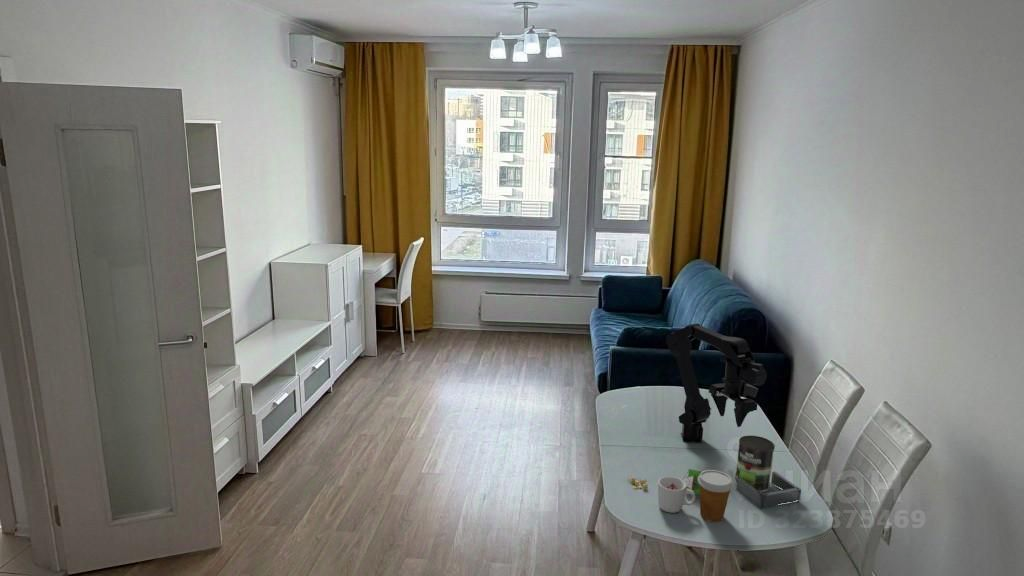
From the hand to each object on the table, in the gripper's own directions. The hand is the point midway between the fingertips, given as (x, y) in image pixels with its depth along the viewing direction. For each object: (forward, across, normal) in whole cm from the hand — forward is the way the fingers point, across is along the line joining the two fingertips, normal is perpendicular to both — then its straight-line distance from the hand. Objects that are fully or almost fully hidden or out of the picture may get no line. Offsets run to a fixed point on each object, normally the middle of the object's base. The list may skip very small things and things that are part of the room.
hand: (730, 421), depth 222 cm
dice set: (+14, -9, +38) cm, 41 cm away
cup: (+14, -24, +34) cm, 44 cm away
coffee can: (+14, -18, +3) cm, 22 cm away
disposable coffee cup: (+14, -30, +26) cm, 42 cm away
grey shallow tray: (+13, -25, +3) cm, 28 cm away
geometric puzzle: (+13, -16, +24) cm, 32 cm away
